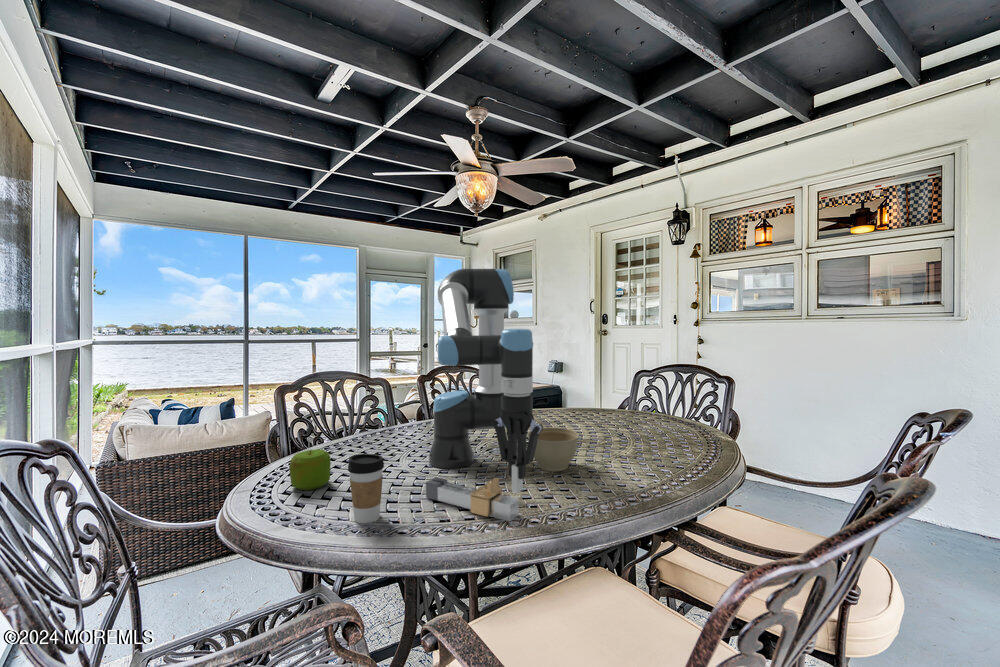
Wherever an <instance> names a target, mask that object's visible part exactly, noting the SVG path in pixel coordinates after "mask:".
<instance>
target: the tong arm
mask: <svg viewBox="0 0 1000 667" xmlns="http://www.w3.org/2000/svg"><path fill="white" fill-rule="evenodd" d="M431 480H433V481H437V482H441V483H442V485H444V486H449V487H453V488H457V489H461V490H465V491H469V492H473V491H475V490H477V489H478V488H473V487H472V486H466V485H461V484H457V483H453V482H449V481H448V479H445V478H440V477H437V476H436V477H434V478H431Z"/></svg>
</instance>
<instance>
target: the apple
mask: <svg viewBox="0 0 1000 667" xmlns="http://www.w3.org/2000/svg"><path fill="white" fill-rule="evenodd" d="M331 460H332V459H331V455H330V453H329V452H328V451H326V449H321V448H317V449H308V450H304V451H301V452H297V453H296V454H294V455H293V456H292V457H291V459H290V462H289V466H288V469H289V477H290V485H291V486H293V487H294V488H296V489H298V490H301V491H313V490H314V491H315V490H317V489H320V488H322V487H324V486H325V485H326V484H327V483H328V482H329V481H331V480H330V479H331V464H332V462H331Z"/></svg>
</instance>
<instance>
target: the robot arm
mask: <svg viewBox="0 0 1000 667" xmlns="http://www.w3.org/2000/svg"><path fill="white" fill-rule="evenodd" d="M514 292H515V291H514V285H513V279H512V276H511V274H510V272H509V271H508V270H506V269H502V268H459V269H457V270H454V271H453V272H451V273H449V274H448V275H446V276H445V278H443V279H442V281H441V282H440V284H439V286H438V289H437V300H438V303H439V304H440V306H441V312H442V313H441V314H442V324H443V326H442V327H443V328H442V329H443V335H441V336H439V337H438V338H437V362H438V364H439V365H441V366H453V367H456V366H476V365H477V366H478V385H477V386H476V387H475V388H474V394H469V392H468V390H454V391H453V390H452V391H447V392H442V393H440V394H438V395H436V396H435V398H434V399H433V409H432V412H433V441H432V445H431V449H430V452H429V454H428V455H429V456H428V464H430V466H432V467H435V468H439V469H458V468H465V467H467V466H470V465H471V464H473V463H475V462H474V461H475V453H474V451H473V448H472V445H471V441H470V438H469V436H470V435H469V433H470V432H469V431H472V430H473V431H475V430H476V431H477V430H493V429H494V430H495V434H496V438H497V443H498V447H499V453H500V458H501V460H502V461H504V462H507V463H508V477H510V478H511V492H512V493H513V494H518V493H520V492H521V491H523V489H524V488H523V487H524V486H523V484H524V483H523V479H525V478H526V468H527V467H526V466H527V465H530V464H532V462H533V461H534V460H535V458H534V454H535V450H536V446H537V441H538V437H539V433H540V432H541V430H542V429H543V428H544V426H543V424H539V423H537V422H536V421H535V417H534V414H533V408H534V404H533V403H534V400H533V399H534V396H533V395H532V393H533V391H534V387H533V386H534V385H533V365H534V364H533V363H534V362H533V360H534V359H533V352H534V351H533V347H534V342H533V331H532V330H531V329H528V328H506V329H505V314H506V313H507V311H508V310H509V308H510V307H509V305H511V304H512V305H513V303H514V296H515V295H514V294H515V293H514ZM468 305H473V310H474V311H475V312H476V313H477V315H478V335H473V331H472V327H471V326H472V325H471V321H470V316H469V309H468ZM529 429H530V431H532V432H531V434H530V437H528V430H529ZM527 437H528V441H527Z"/></svg>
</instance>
